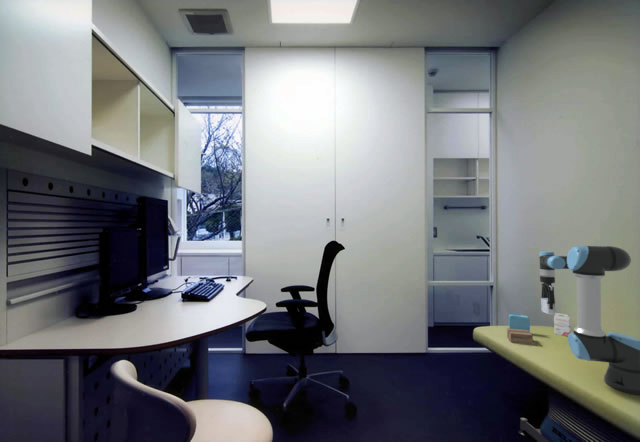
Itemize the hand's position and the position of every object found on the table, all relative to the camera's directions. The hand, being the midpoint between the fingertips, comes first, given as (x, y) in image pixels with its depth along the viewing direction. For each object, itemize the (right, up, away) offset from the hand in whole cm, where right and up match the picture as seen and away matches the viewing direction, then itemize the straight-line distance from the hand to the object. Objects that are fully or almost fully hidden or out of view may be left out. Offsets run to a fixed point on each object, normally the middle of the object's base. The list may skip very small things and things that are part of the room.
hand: (548, 312), depth 191 cm
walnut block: (-13, -21, +8) cm, 26 cm away
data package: (-3, -21, +23) cm, 32 cm away
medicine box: (0, -1, 0) cm, 1 cm away
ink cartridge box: (+24, -21, +19) cm, 38 cm away
